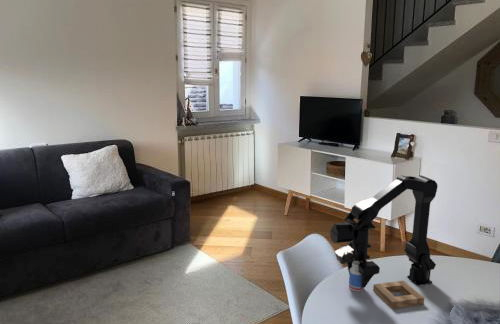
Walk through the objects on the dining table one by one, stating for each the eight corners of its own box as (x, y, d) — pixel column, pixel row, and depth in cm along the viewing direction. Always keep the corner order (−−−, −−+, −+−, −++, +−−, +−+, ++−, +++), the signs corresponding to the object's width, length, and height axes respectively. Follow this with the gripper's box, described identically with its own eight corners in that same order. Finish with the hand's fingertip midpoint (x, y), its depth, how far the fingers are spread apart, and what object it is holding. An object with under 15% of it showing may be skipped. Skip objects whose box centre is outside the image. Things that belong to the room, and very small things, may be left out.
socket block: (402, 286, 157) (403, 280, 157) (423, 304, 146) (424, 297, 145) (373, 290, 154) (373, 284, 154) (391, 308, 143) (392, 302, 142)
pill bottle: (364, 292, 153) (366, 267, 150) (348, 291, 154) (350, 265, 152) (363, 285, 158) (365, 260, 156) (348, 283, 159) (350, 258, 157)
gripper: (327, 232, 158) (325, 271, 162) (351, 253, 141) (348, 297, 144) (355, 229, 161) (352, 268, 165) (382, 250, 144) (378, 293, 147)
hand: (356, 281), depth 155 cm, fingers open, 9 cm apart
